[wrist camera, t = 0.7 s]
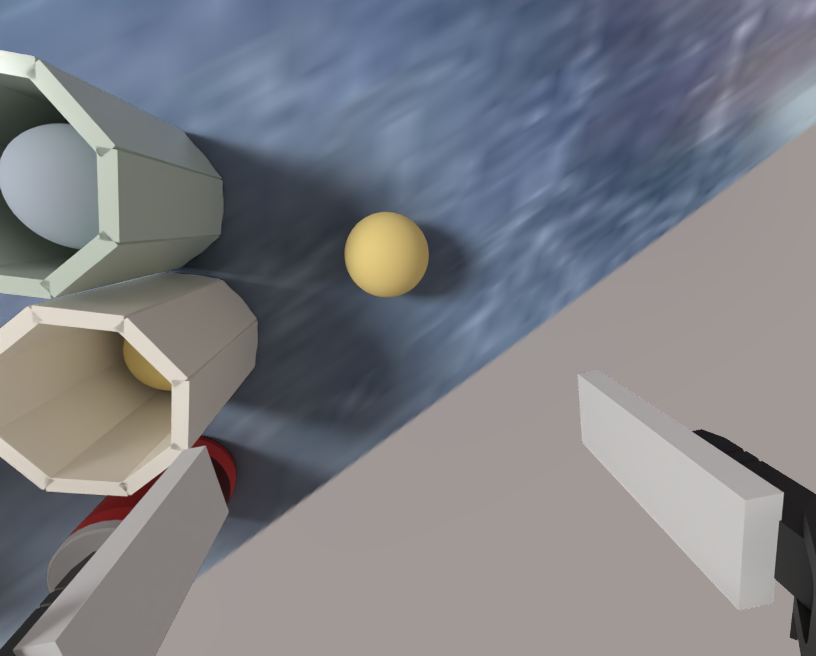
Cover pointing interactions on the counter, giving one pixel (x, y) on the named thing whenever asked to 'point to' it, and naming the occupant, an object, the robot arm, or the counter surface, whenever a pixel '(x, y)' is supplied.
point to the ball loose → (386, 254)
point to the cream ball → (144, 369)
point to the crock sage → (106, 187)
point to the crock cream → (119, 380)
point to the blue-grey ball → (53, 183)
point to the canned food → (116, 510)
